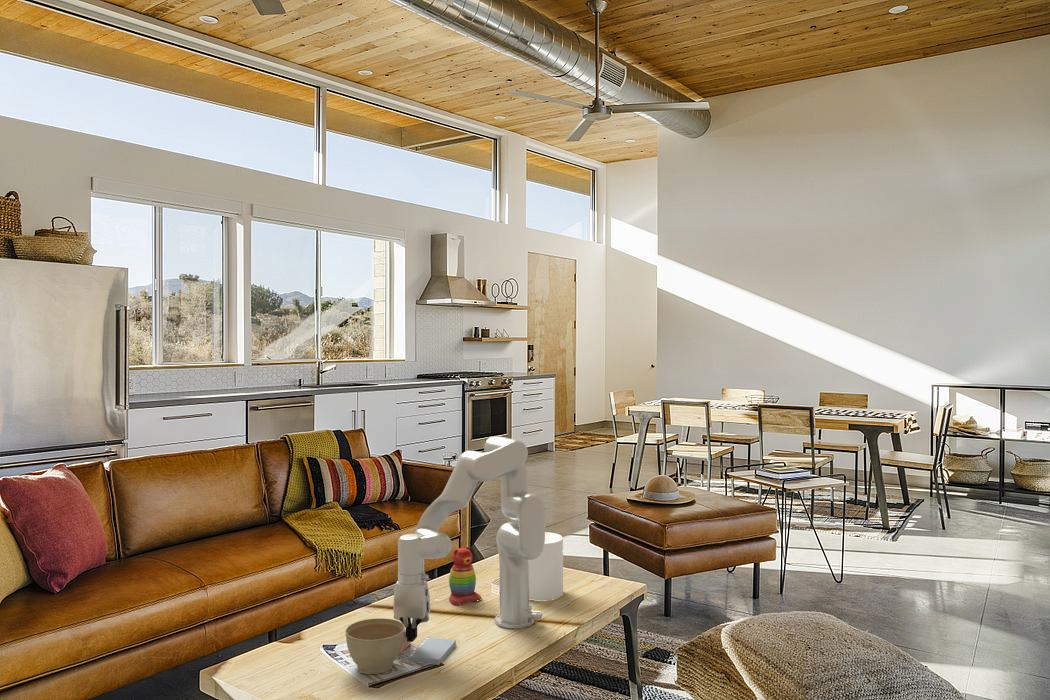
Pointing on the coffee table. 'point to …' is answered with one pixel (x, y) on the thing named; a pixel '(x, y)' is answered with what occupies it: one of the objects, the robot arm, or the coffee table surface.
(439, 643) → the board
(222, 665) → the coffee table surface
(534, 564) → the canister
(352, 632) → the planter bowl
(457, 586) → the stacking bear
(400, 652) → the peach rectangular block
